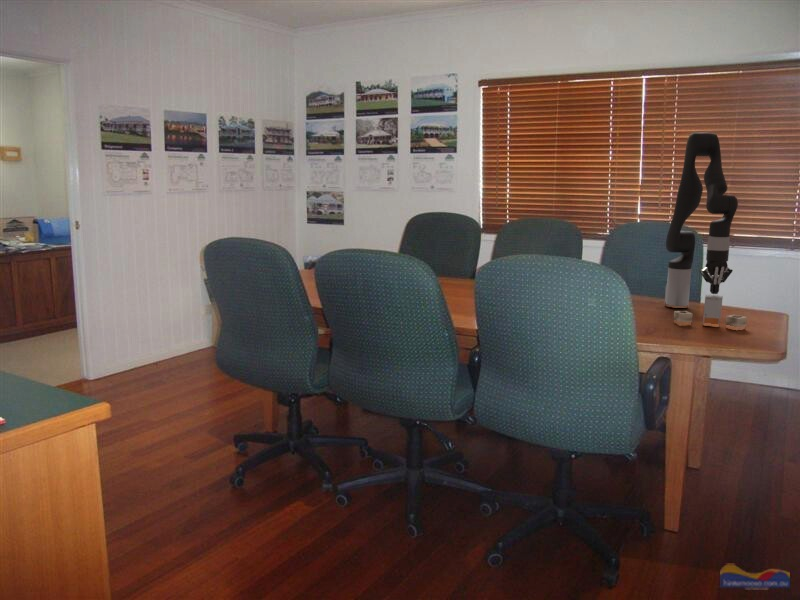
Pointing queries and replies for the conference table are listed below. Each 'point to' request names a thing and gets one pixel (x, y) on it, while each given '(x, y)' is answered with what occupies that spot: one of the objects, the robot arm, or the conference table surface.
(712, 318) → the skincare box
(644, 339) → the conference table surface
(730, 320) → the marked block
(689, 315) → the marked block
